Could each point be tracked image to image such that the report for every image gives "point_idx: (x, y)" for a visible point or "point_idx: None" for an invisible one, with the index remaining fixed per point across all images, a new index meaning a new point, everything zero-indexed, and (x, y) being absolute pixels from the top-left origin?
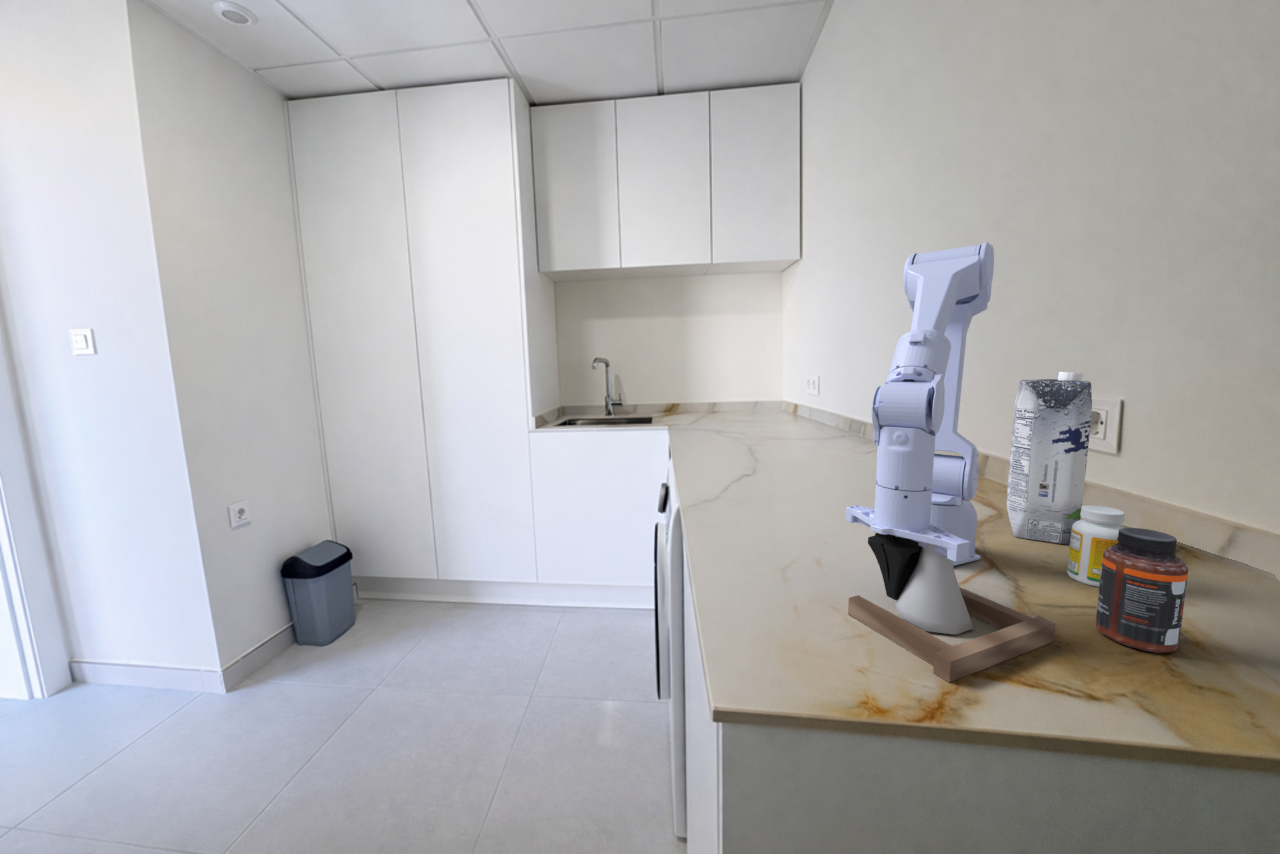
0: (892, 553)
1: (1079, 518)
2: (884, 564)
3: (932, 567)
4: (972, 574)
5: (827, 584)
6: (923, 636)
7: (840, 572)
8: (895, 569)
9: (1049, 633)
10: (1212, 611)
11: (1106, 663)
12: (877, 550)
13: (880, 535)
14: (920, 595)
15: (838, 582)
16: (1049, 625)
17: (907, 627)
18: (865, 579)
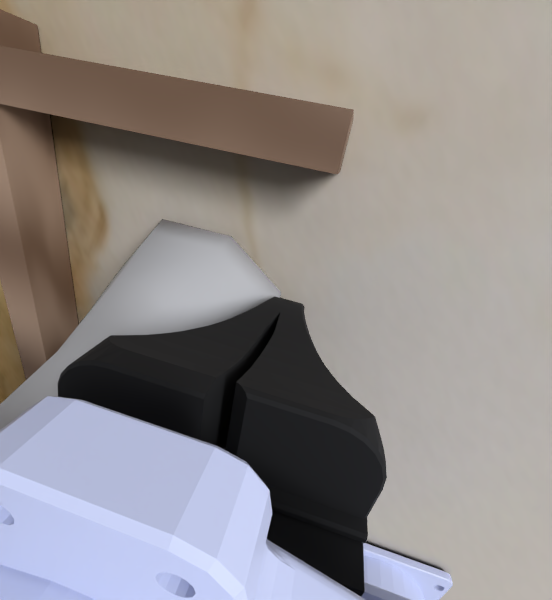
0: (174, 354)
1: None
2: (279, 346)
3: (47, 361)
4: None
5: (524, 278)
6: (49, 77)
7: (520, 392)
8: (221, 330)
9: None
10: None
11: (6, 359)
12: (299, 382)
13: (316, 520)
14: (150, 280)
15: (493, 321)
16: None
17: (102, 87)
18: (426, 395)
